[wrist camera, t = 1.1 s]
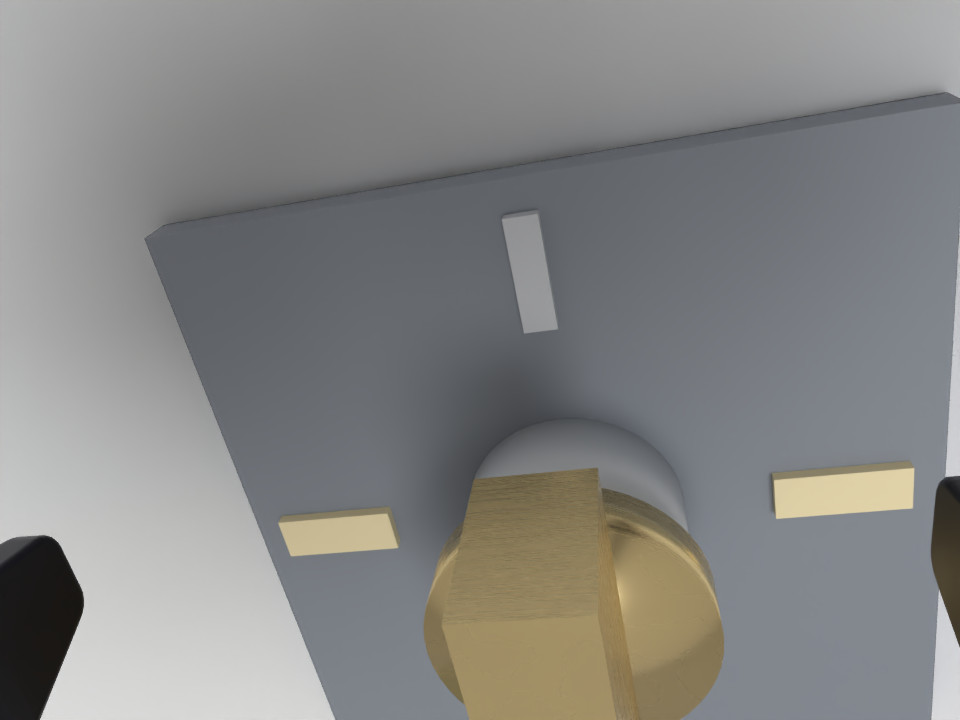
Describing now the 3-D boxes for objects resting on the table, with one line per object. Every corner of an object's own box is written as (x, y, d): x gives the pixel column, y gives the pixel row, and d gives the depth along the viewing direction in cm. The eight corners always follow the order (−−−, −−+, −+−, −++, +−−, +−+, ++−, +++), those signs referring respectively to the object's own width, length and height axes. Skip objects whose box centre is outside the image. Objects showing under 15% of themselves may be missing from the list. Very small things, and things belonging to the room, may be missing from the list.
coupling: (698, 417, 16) (738, 610, 12) (729, 736, 20) (768, 973, 16) (391, 449, 18) (319, 633, 13) (478, 743, 22) (445, 963, 17)
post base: (947, 92, 17) (1038, 136, 14) (918, 703, 25) (971, 831, 21) (163, 225, 21) (75, 287, 17) (354, 722, 29) (320, 834, 25)
